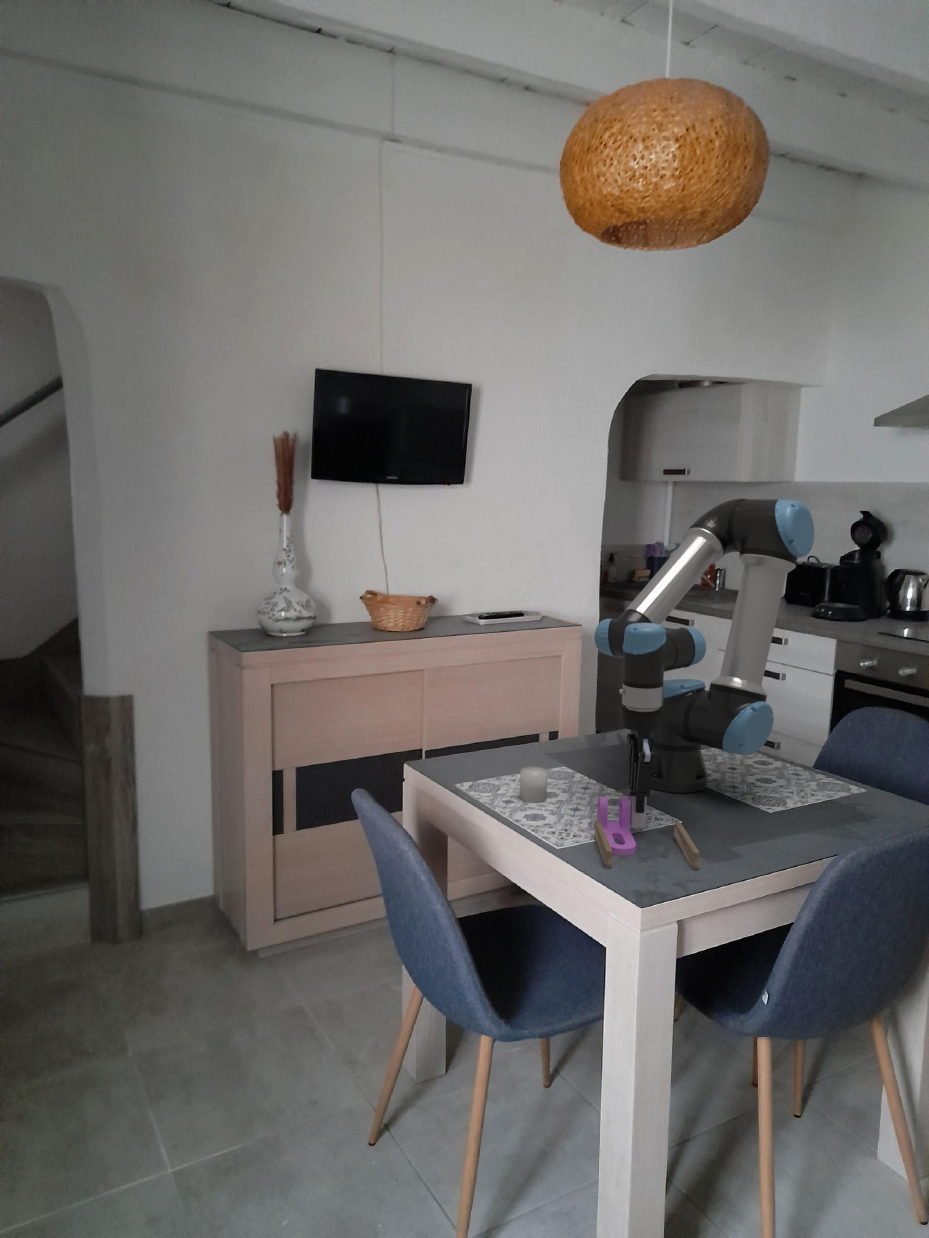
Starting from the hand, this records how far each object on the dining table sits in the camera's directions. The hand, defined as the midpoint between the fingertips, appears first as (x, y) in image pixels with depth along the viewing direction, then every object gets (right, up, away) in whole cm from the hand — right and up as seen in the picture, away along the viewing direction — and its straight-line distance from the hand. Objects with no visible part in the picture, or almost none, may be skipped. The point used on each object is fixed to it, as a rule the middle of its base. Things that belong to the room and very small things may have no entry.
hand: (637, 826), depth 169 cm
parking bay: (-1, -2, -10) cm, 10 cm away
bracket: (-5, -2, -5) cm, 7 cm away
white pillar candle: (-19, +2, +17) cm, 25 cm away
